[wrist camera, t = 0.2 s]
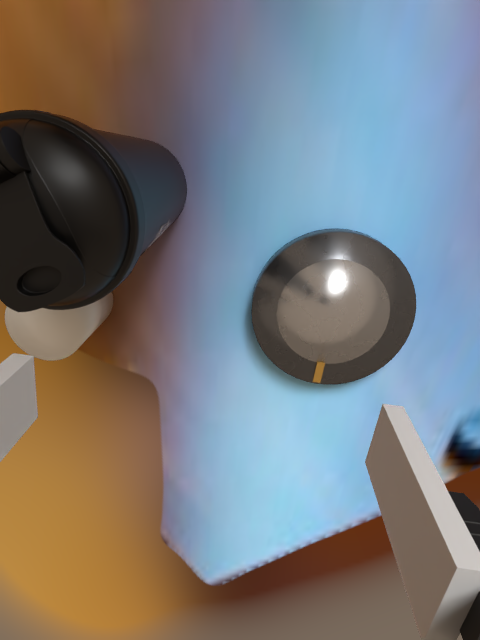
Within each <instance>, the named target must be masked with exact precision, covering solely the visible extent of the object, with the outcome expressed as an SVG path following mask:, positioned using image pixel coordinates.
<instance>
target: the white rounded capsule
mask: <svg viewBox="0 0 480 640" xmlns="http://www.w3.org/2000/svg"><path fill="white" fill-rule="evenodd" d="M112 307H113V294H112V292H110V293H109V294H108V295H106V296H105V297H103V298H102V299H100V300H98V301H96V302H94V303H92V304H89V305H86V306H83V307H80V308H75V309H68V310H49V309H45V308H40V309H37V310H33V311H29V312H16V311H14V310H12V309H10V308H9V307H6V311H5V324H6V327H7V330H8V333H9V335H10V336H11V338H12V339H13V341H14V342H15V343H16V344H17V345H18V347H20V348H21V349H22V350H23V351H25V352H26V353H28V354H29V355H31V356H34V357H36V358H39V359H43V360H49V361H53V360H61V359H64V358H66V357H68V356H70V355H72V354H73V353H74V352H75V351H76V350H77V349H78V348H79V347H80V346H81V345H82V344H83V343H84V342H85V341H86V340H87V338H88V337H89V336H90V335H91V334H92V333H93V332H94V331H95V330H96V329H97V328H98V327H99V326H100V325H101V324H102V323H103V321H104V320H105V319H106V318H107V317H108V316H109V314H110V312H111V310H112Z"/></svg>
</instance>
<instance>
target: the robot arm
mask: <svg viewBox="0 0 480 640" xmlns="http://www.w3.org/2000/svg"><path fill="white" fill-rule="evenodd" d="M37 418H38V413H37V399H36V384H35V371H34V356H30V355H23V354H15V353H13V354H12V355H10V356H9V357H8V358H7V359H6V360H4V361H3V362H2V363H1V364H0V462H1V460H2V459H3V458H4V457H5V456H6V454H7V453H8V452H9V451H10V450H11V449H12V447H13V446H14V445H15V444H16V442H17V441H18V440H19V439H20V438H21V437H22V435H23V434H24V433H25V432H26V431H27V429H28V428H29V427H30V426H31V425H32V424H33V422H34V421H35V420H36V419H37ZM365 463H366V466H367V470H368V473H369V476H370V479H371V482H372V485H373V489H374V492H375V495H376V498H377V501H378V505H379V508H380V511H381V514H382V517H383V520H384V524H385V527H386V530H387V533H388V536H389V539H390V543H391V545H392V549H393V552H394V555H395V558H396V562H397V565H398V568H399V571H400V574H401V577H402V581H403V584H404V587H405V590H406V593H407V596H408V600H409V603H410V606H411V609H412V612H413V615H414V619H415V622H416V625H417V628H418V632H419V634H420V638H421V640H456V639H457V638H458V636H459V634H460V633H461V635H462V638H463V640H480V510H479V508H478V507H477V506H476V505H475V504H474V503H473V502H472V501H471V500H470V499H469V498H468V497H467V496H466V495H465V494H463V493H456V492H449V491H447V489H446V487H445V485H444V483H443V481H442V479H441V477H440V475H439V474H438V472H437V470H436V468H435V466H434V464H433V462H432V460H431V458H430V457H429V455H428V453H427V451H426V449H425V447H424V445H423V443H422V441H421V439H420V438H419V436H418V434H417V432H416V430H415V428H414V426H413V424H412V422H411V421H410V419H409V417H408V415H407V413H406V411H405V409H404V407H402V406H395V405H388V404H383V405H382V408H381V411H380V415H379V418H378V421H377V424H376V428H375V431H374V434H373V438H372V441H371V444H370V448H369V451H368V454H367V458H366V461H365Z"/></svg>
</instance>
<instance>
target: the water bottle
mask: <svg viewBox="0 0 480 640" xmlns="http://www.w3.org/2000/svg"><path fill="white" fill-rule="evenodd" d="M186 194H187V186H186V179H185V175H184V172H183V170H182V168H181V166H180V164H179V162H178V161H177V159H176V158H175V157H174V156H173V155H172V154H171V153H170V152H169V151H168V150H167V149H166V148H164V147H163V146H161V145H159V144H157V143H155V142H152V141H149V140H144V139H139V138H134V137H129V136H124V135H119V134H115V133H110V132H105V131H100V130H95V129H92V128H90V127H88V126H87V125H85V124H83V123H81V122H79V121H76V120H74V119H71V118H68V117H65V116H61V115H56V114H51V113H49V112H43V111H37V110H15V111H9V112H4V113H0V300H1V301H2V302H3V303H4V304H5V305H6V306H7V307H9V308H10V309H12V310H14V311H16V312H29V311H33V310H37V309H40V308H45V309H49V310H68V309H75V308H80V307H83V306H86V305H89V304H92V303H94V302H96V301H98V300H100V299H102V298H103V297H105V296H106V295H108V294H109V293H110V292H112V291H113V290H114V289H115V288H116V287H117V286H118V285H119V284H120V283H122V282H123V281H124V280H125V279H126V278H127V276H128V275H129V274H130V273H131V271H132V269H133V268H134V266H135V264H136V262H137V261H138V258H139V257H140V256H141V255H142V254H143V253H144V252H145V251H146V250H147V249H148V248H149V246H151V245H152V243H153V242H155V241H156V240H157V239H158V238H159V237H160V236H161V235H162V233H164V231H165V230H166V229H167V228H168V227H169V226H170V225H171V224H172V223H173V222H174V221H175V220H176V219H177V217H178V216H179V215H180V213H181V211H182V209H183V207H184V204H185V200H186Z"/></svg>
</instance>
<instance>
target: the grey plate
mask: <svg viewBox="0 0 480 640" xmlns="http://www.w3.org/2000/svg"><path fill="white" fill-rule="evenodd" d="M415 313H416V295H415V289H414V285H413V282H412V279H411V276H410V274H409V273H408V271H407V269H406V267H405V266H404V264H403V263H402V262H401V260H400V259H399V258H398V257H397V256H396V255H395V254H394V253H393V252H392V251H391V250H390V249H388V248H387V247H386V246H385V245H383V244H382V243H381V242H379V241H378V240H376V239H374V238H372V237H370V236H368V235H366V234H363V233H360V232H357V231H352V230H348V229H324V230H318V231H314V232H311V233H307V234H304V235H302V236H300V237H298V238H296V239H294V240H292V241H291V242H289V243H287V244H286V245H284V246H283V247H282V248H281V249H279V250H278V251H277V252H276V253H275V254H274V255H273V256H272V257H271V258H270V260H269V261H268V262H267V264H266V265H265V266H264V268H263V270H262V272H261V273H260V275H259V277H258V280H257V283H256V285H255V289H254V293H253V302H252V323H253V328H254V332H255V335H256V338H257V341H258V343H259V344H260V346H261V348H262V350H263V351H264V353H265V354H266V356H267V357H268V358H269V359H270V360H271V361H272V362H273V363H274V364H275V365H276V366H277V367H279V368H280V369H281V370H283V371H284V372H286V373H287V374H289V375H291V376H293V377H295V378H298V379H301V380H304V381H307V382H311V383H317V384H341V383H347V382H351V381H355V380H358V379H361V378H363V377H366V376H368V375H370V374H372V373H374V372H375V371H377V370H379V369H380V368H382V367H383V366H384V365H385V364H387V363H388V362H389V361H390V360H391V359H392V358H393V357H394V356H395V355H396V354H397V353H398V352H399V350H400V349H401V348H402V346H403V345H404V343H405V342H406V340H407V338H408V336H409V334H410V331H411V329H412V326H413V323H414V319H415Z"/></svg>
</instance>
